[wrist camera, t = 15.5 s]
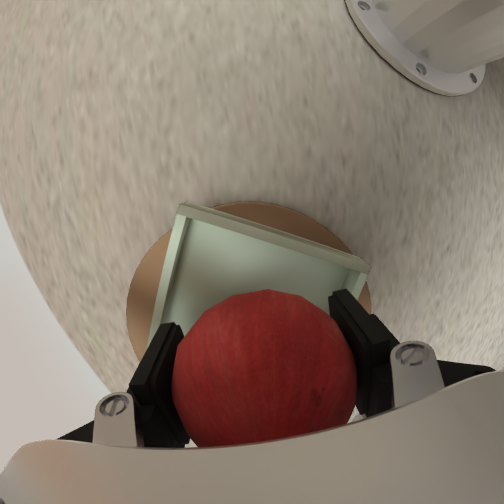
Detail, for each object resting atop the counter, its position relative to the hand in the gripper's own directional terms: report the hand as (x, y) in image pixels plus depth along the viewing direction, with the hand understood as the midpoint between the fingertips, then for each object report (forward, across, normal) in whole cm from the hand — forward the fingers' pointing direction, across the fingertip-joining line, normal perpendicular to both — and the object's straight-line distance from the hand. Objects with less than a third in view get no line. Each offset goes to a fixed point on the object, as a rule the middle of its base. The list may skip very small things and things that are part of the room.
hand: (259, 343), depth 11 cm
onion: (+2, 0, 0) cm, 2 cm away
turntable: (+5, +1, +1) cm, 5 cm away
